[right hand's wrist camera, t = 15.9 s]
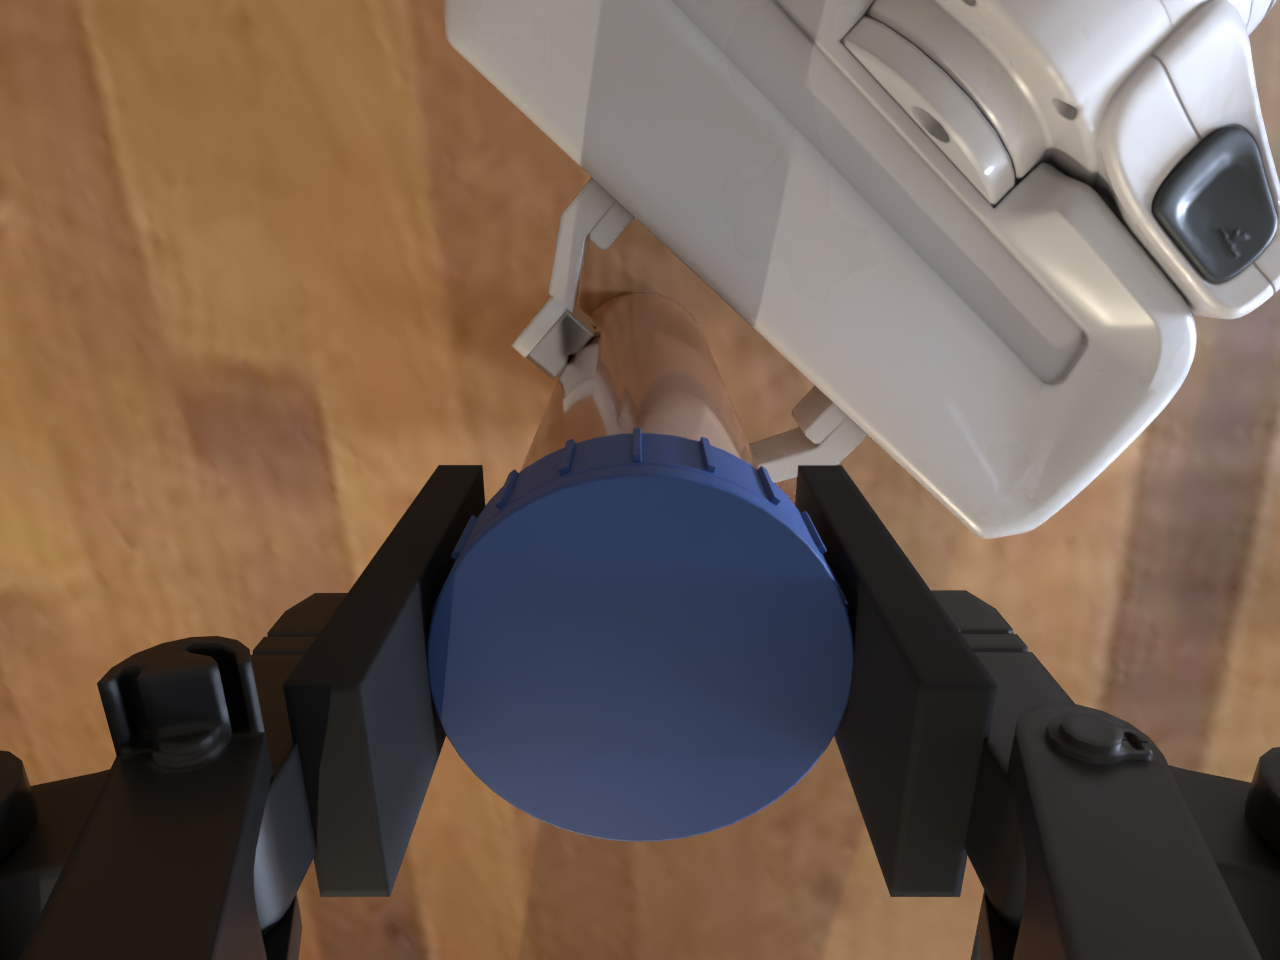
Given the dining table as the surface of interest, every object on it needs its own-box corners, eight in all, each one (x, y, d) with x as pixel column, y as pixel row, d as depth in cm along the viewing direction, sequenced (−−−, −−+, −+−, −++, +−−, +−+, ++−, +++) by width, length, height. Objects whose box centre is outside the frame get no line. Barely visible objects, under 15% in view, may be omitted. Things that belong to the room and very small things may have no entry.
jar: (549, 323, 28) (396, 564, 10) (679, 270, 27) (751, 430, 10) (603, 446, 30) (549, 837, 12) (727, 398, 29) (864, 737, 11)
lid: (383, 659, 12) (345, 731, 11) (573, 347, 11) (561, 377, 9) (692, 816, 13) (699, 904, 12) (907, 554, 12) (951, 613, 10)
